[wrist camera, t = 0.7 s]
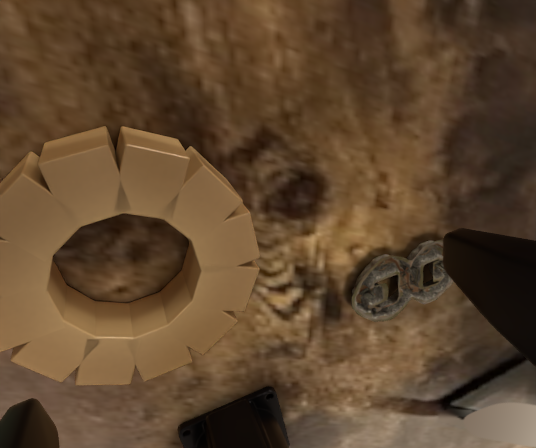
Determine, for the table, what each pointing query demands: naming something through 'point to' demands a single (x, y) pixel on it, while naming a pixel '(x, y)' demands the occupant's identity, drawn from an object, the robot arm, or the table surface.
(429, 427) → the table surface
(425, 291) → the corroded twin loop
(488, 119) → the table surface
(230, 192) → the hoop
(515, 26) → the table surface
